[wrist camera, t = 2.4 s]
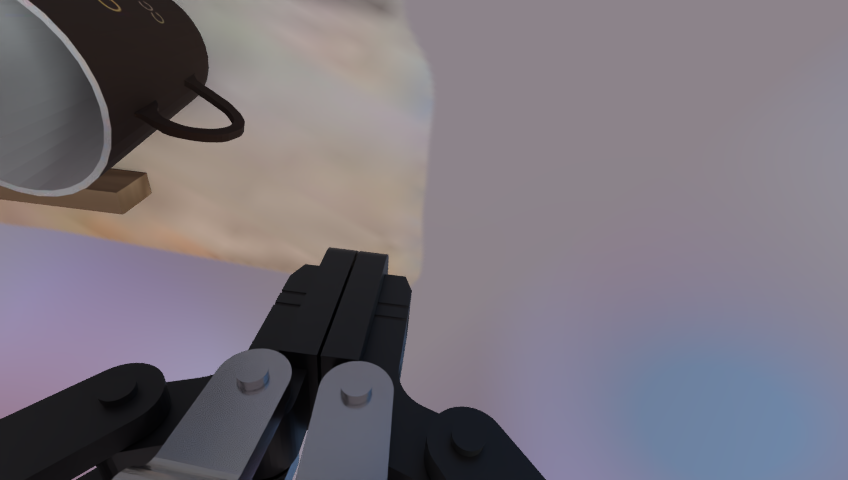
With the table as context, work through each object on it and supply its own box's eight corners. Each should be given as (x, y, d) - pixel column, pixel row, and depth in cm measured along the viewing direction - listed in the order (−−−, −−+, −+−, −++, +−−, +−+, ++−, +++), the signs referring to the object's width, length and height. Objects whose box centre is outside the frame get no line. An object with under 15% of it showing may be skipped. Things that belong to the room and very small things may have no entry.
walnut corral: (-144, -124, 22) (-224, -136, 19) (75, -99, 22) (23, -108, 19) (-6, 174, 30) (-49, 193, 28) (151, 193, 30) (123, 214, 28)
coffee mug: (54, 54, 26) (-147, 98, 17) (107, -82, 22) (-117, -110, 14) (228, 182, 29) (133, 270, 21) (300, 84, 26) (219, 144, 17)
